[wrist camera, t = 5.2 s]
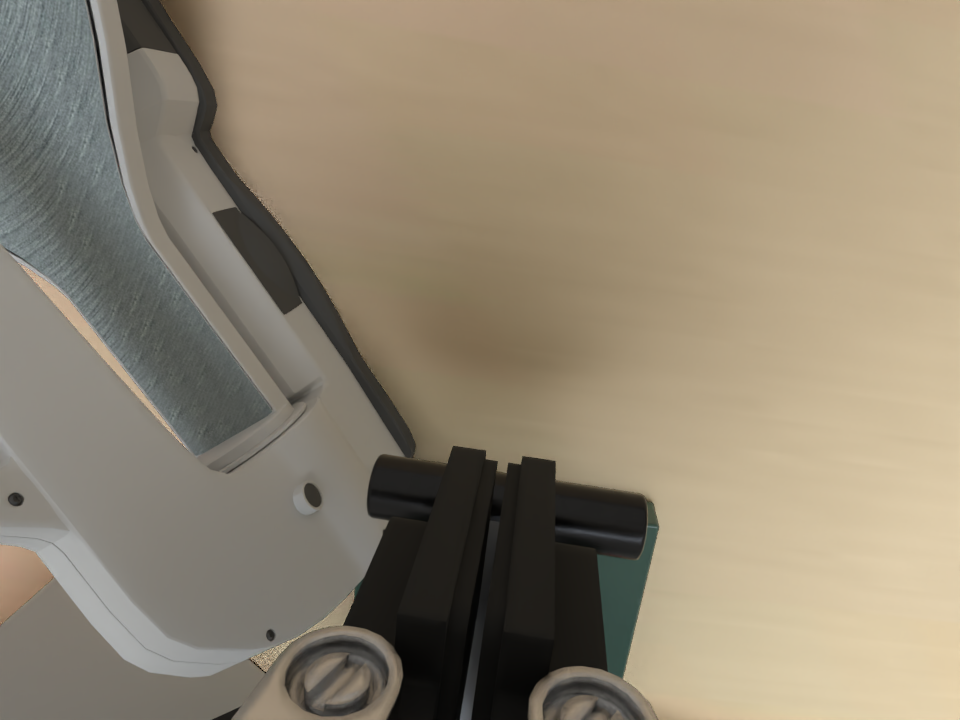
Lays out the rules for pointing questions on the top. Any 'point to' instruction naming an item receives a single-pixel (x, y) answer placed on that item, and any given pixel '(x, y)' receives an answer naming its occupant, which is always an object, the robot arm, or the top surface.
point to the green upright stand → (621, 596)
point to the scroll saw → (167, 357)
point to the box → (98, 672)
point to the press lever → (578, 521)
